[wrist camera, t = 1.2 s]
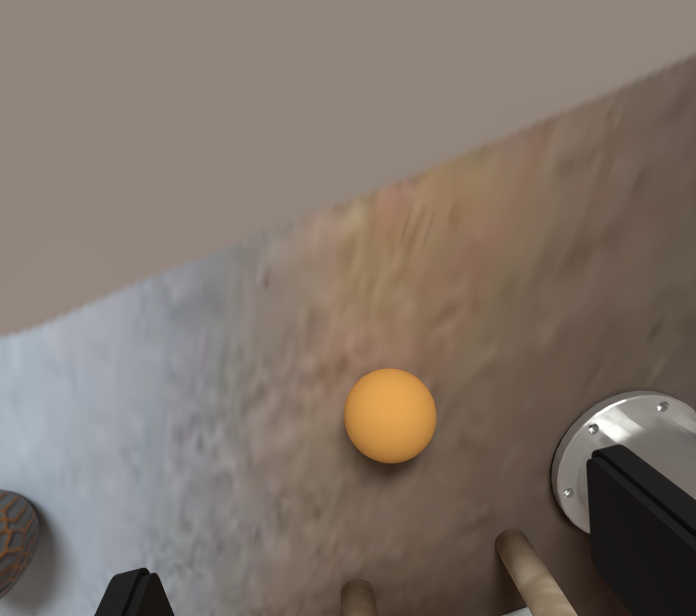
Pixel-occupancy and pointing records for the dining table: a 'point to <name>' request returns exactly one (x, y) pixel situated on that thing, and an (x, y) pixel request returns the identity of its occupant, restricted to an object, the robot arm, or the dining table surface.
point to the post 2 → (531, 576)
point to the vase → (15, 538)
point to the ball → (390, 415)
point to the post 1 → (358, 599)
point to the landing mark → (520, 612)
